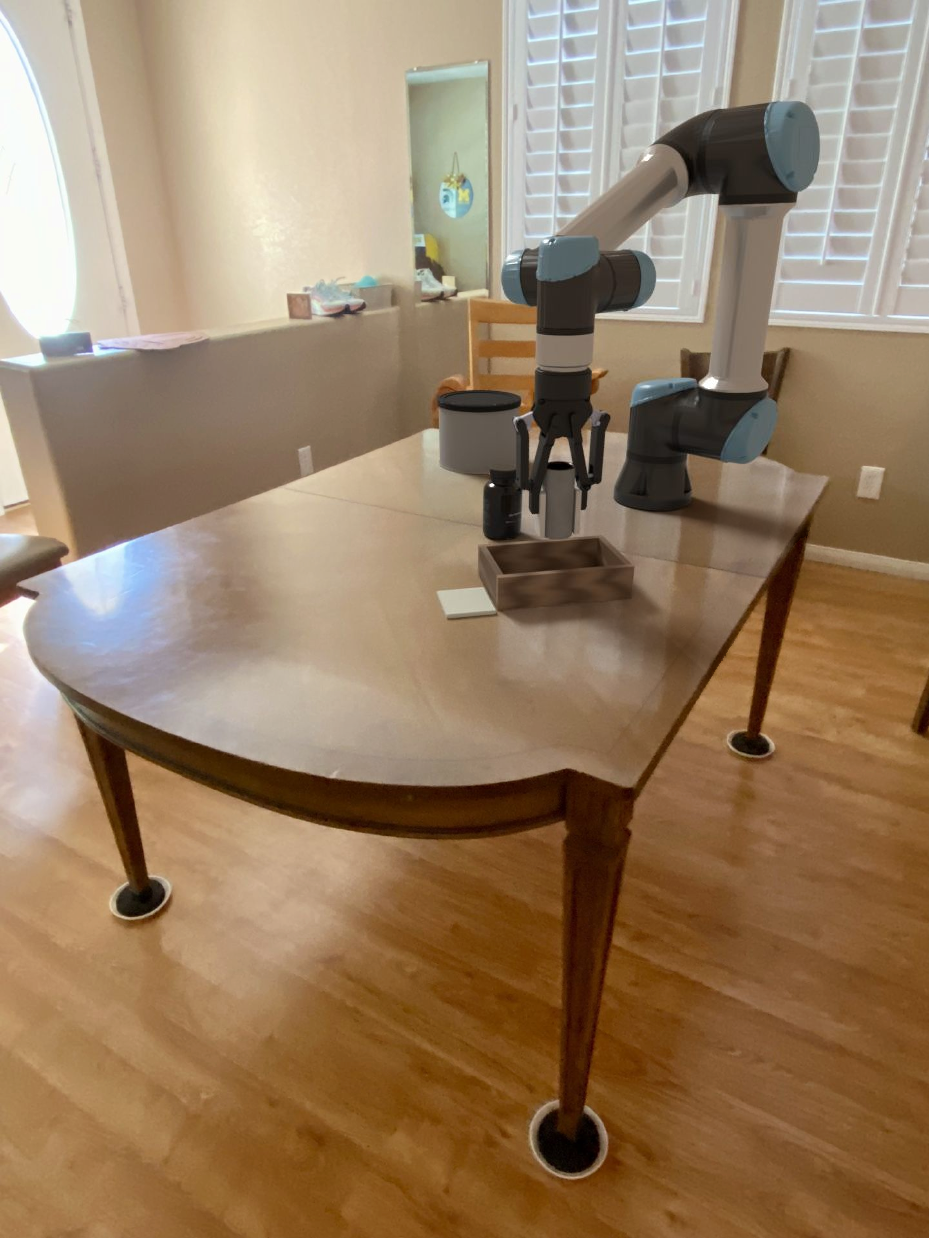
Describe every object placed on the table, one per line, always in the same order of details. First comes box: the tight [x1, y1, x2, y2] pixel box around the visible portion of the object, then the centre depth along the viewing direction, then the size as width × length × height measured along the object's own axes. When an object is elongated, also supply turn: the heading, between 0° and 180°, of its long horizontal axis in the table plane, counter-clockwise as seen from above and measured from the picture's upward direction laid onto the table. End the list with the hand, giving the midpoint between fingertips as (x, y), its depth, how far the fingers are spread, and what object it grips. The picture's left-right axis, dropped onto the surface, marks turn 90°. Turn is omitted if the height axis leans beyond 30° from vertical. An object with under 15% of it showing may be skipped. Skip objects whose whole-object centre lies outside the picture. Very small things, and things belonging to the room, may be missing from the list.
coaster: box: [436, 586, 497, 619], centre depth 109 cm, size 7×8×1 cm
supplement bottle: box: [482, 464, 524, 541], centre depth 133 cm, size 7×7×12 cm
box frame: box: [477, 534, 635, 611], centre depth 114 cm, size 20×13×5 cm, turn 101°
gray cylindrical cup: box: [541, 460, 576, 540], centre depth 109 cm, size 4×4×10 cm
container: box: [436, 389, 522, 475], centre depth 174 cm, size 19×19×15 cm
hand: (556, 532), depth 111 cm, fingers closed on gray cylindrical cup, 4 cm apart
